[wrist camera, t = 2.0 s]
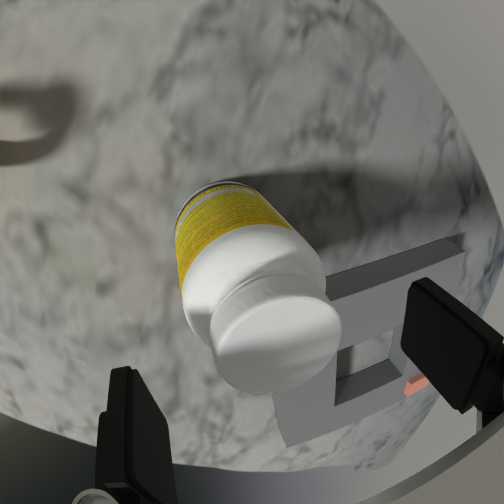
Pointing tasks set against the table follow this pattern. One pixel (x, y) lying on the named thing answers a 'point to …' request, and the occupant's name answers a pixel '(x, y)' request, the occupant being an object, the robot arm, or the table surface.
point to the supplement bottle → (253, 290)
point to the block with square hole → (362, 328)
